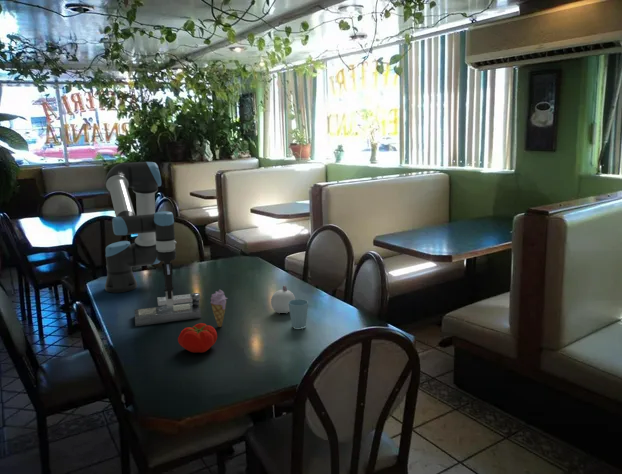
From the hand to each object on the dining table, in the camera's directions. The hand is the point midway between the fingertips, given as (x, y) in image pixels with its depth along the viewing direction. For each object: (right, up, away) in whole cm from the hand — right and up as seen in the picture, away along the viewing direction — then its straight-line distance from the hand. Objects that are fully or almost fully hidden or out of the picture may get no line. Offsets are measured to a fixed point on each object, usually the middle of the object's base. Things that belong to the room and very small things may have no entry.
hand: (170, 305), depth 207 cm
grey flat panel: (+2, +1, +7) cm, 7 cm away
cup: (+54, -8, -9) cm, 55 cm away
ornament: (+47, -4, +8) cm, 47 cm away
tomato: (+19, -12, -29) cm, 37 cm away
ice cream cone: (+22, -8, -7) cm, 25 cm away
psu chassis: (-2, -5, +4) cm, 7 cm away
